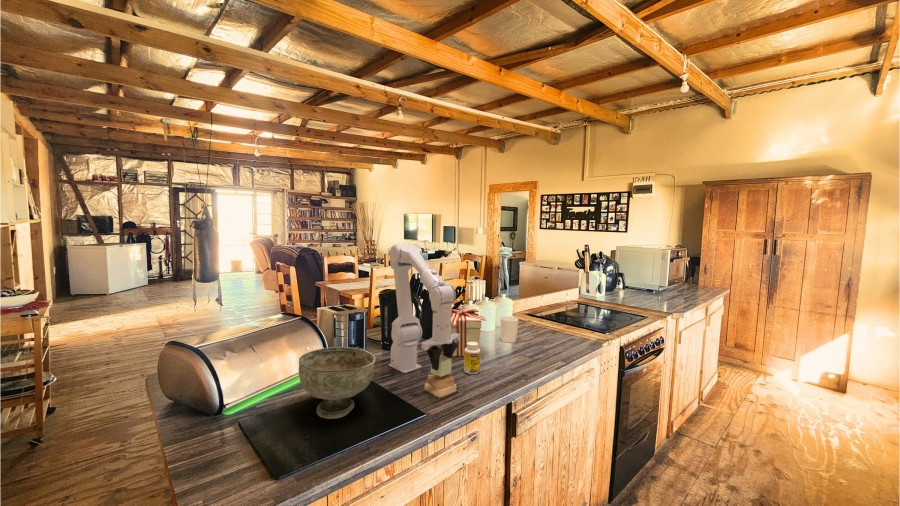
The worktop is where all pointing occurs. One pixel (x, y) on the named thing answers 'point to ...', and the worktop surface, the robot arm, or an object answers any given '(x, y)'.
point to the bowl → (336, 377)
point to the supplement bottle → (472, 358)
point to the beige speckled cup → (508, 328)
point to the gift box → (465, 328)
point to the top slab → (440, 381)
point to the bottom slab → (439, 392)
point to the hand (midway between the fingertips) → (440, 367)
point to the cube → (443, 366)
